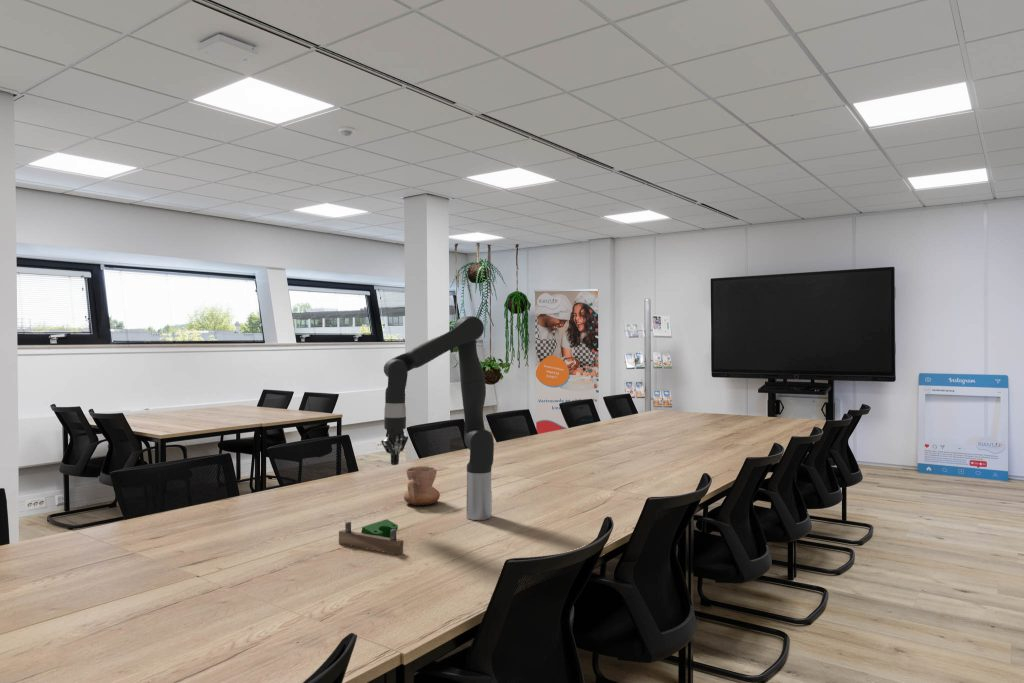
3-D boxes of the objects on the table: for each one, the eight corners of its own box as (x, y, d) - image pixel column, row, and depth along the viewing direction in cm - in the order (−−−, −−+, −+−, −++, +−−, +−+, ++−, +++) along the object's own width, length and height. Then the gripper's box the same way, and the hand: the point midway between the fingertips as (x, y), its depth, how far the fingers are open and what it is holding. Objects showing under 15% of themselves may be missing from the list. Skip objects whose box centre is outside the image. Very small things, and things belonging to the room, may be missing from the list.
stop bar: (343, 542, 210) (343, 520, 210) (403, 553, 199) (403, 530, 199) (338, 543, 208) (338, 522, 208) (399, 555, 197) (399, 532, 197)
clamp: (374, 559, 207) (371, 537, 202) (361, 551, 210) (358, 530, 206) (401, 537, 215) (398, 516, 211) (388, 529, 218) (385, 509, 214)
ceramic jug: (419, 497, 272) (418, 463, 272) (448, 500, 266) (447, 466, 266) (393, 507, 256) (392, 471, 256) (423, 511, 250) (423, 474, 250)
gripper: (392, 418, 220) (391, 468, 220) (414, 414, 232) (414, 462, 232) (374, 416, 224) (374, 466, 223) (397, 413, 235) (397, 460, 235)
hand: (394, 464), depth 228 cm, fingers closed
